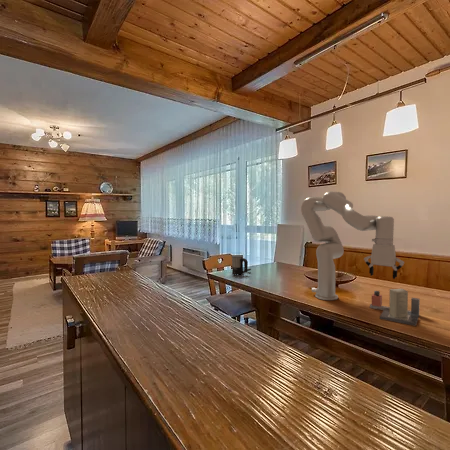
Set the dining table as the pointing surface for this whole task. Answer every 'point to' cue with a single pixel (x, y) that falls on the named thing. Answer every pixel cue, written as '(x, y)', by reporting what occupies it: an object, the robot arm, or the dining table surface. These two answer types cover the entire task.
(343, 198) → the robot arm
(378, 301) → the capped bottle
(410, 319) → the plate
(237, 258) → the milk frother
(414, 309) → the rail
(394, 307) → the skincare box
